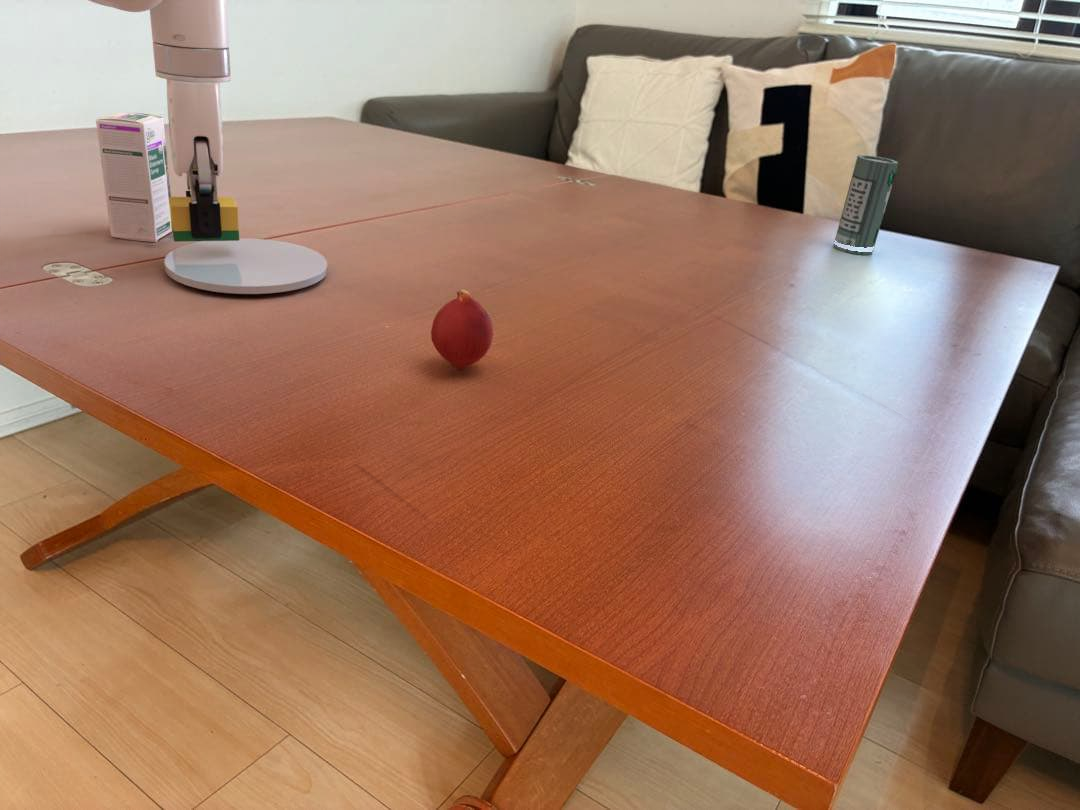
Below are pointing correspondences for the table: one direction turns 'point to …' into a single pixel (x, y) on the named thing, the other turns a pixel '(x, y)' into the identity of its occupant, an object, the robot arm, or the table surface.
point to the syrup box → (135, 175)
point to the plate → (245, 266)
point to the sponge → (183, 226)
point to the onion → (462, 331)
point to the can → (866, 202)
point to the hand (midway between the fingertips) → (204, 229)
